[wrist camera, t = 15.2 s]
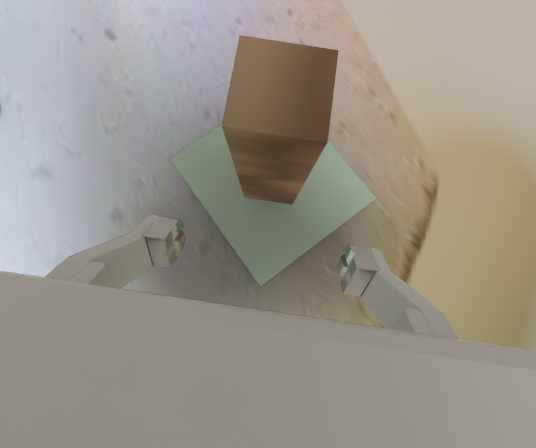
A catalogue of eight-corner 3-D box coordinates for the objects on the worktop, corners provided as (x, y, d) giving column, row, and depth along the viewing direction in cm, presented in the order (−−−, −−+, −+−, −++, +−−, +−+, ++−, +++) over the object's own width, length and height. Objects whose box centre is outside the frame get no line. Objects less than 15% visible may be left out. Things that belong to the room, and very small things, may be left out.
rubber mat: (172, 162, 19) (168, 158, 18) (282, 90, 21) (283, 84, 20) (260, 285, 18) (260, 286, 17) (372, 200, 19) (376, 198, 18)
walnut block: (244, 197, 18) (221, 126, 8) (252, 150, 19) (240, 31, 9) (292, 204, 18) (327, 142, 8) (299, 157, 19) (338, 46, 9)
